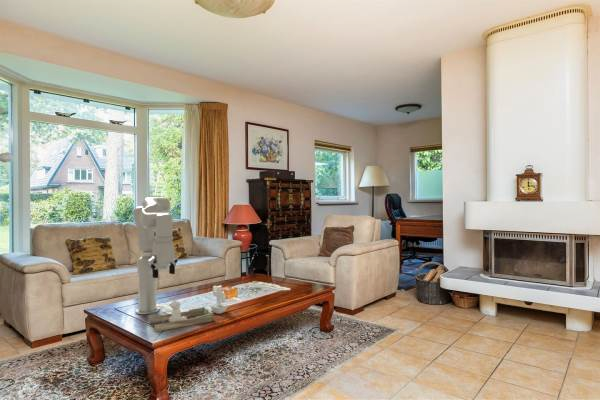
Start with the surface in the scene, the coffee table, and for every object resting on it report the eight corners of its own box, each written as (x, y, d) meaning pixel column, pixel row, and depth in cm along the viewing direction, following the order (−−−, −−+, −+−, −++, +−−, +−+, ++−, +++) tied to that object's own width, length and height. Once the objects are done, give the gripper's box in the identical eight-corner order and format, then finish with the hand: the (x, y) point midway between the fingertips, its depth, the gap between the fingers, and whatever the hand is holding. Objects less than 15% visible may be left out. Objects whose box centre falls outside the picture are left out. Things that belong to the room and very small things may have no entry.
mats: (150, 323, 190) (150, 323, 190) (161, 321, 193) (161, 321, 193) (155, 330, 181) (155, 330, 181) (167, 328, 184) (167, 327, 184)
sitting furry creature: (187, 319, 197) (187, 297, 197) (184, 325, 189) (184, 302, 188) (168, 320, 196) (168, 298, 195) (165, 326, 187) (165, 302, 187)
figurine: (219, 315, 204) (219, 288, 204) (208, 311, 210) (208, 285, 210) (229, 312, 210) (229, 286, 210) (218, 308, 216) (218, 283, 215)
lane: (149, 323, 191) (149, 315, 191) (204, 313, 207) (204, 306, 207) (154, 331, 180) (154, 323, 179) (213, 320, 196) (213, 313, 196)
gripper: (172, 237, 185) (172, 271, 185) (143, 241, 170) (143, 278, 170) (183, 238, 181) (183, 273, 182) (154, 242, 166) (153, 280, 166)
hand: (163, 275), depth 176 cm, fingers open, 9 cm apart
